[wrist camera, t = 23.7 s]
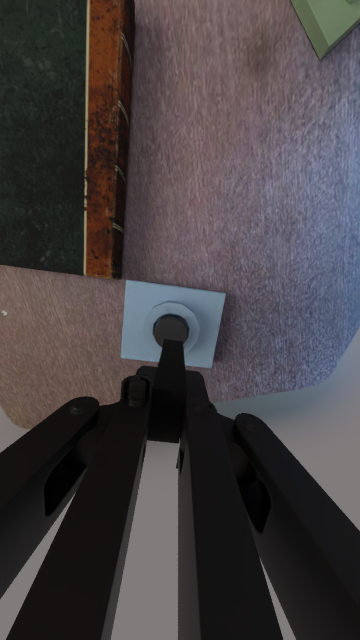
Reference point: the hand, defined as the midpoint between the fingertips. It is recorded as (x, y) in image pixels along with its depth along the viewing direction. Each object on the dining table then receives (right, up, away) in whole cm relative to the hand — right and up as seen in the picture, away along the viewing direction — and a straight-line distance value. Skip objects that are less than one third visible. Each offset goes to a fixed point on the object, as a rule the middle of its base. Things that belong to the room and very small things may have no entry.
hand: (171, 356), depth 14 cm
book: (-14, +21, +6) cm, 26 cm away
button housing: (0, +3, +10) cm, 11 cm away
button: (0, +2, +7) cm, 7 cm away
